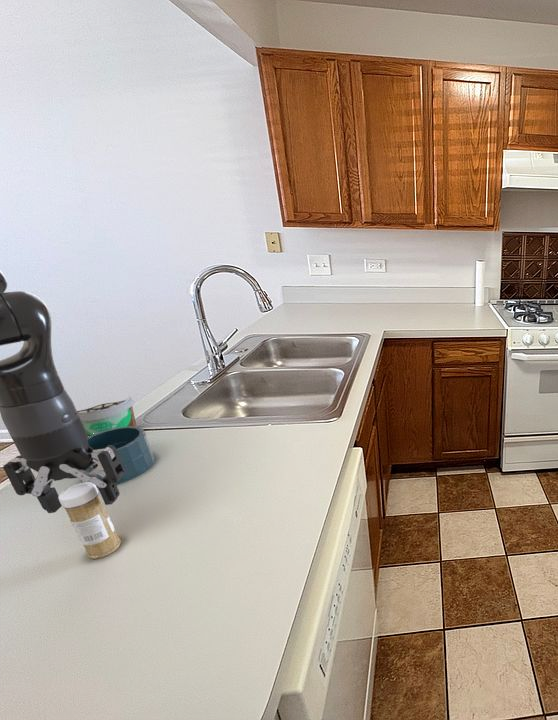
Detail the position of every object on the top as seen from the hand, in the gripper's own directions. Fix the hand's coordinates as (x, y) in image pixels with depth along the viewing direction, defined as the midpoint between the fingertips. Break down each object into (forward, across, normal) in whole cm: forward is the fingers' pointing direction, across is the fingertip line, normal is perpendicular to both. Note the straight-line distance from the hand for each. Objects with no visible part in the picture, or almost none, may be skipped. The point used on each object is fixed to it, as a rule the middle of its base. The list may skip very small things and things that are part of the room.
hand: (84, 505), depth 67 cm
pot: (+10, +11, -26) cm, 30 cm away
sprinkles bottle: (+10, 0, 0) cm, 10 cm away
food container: (+10, +20, -41) cm, 47 cm away
